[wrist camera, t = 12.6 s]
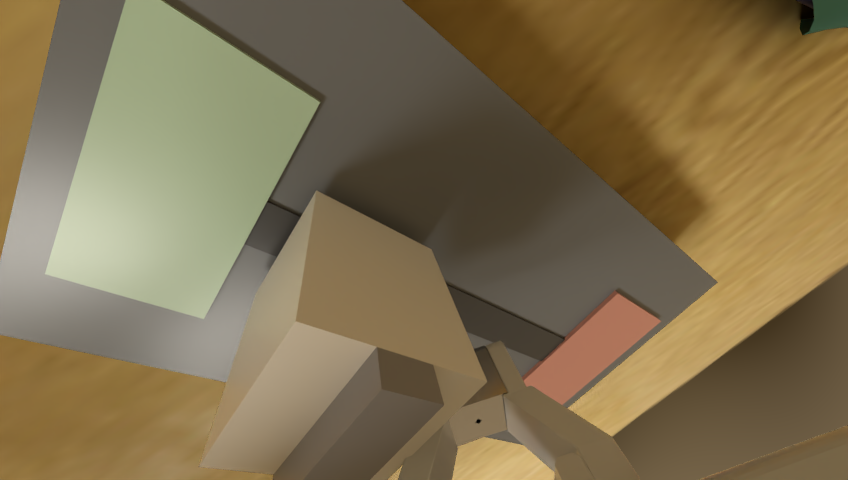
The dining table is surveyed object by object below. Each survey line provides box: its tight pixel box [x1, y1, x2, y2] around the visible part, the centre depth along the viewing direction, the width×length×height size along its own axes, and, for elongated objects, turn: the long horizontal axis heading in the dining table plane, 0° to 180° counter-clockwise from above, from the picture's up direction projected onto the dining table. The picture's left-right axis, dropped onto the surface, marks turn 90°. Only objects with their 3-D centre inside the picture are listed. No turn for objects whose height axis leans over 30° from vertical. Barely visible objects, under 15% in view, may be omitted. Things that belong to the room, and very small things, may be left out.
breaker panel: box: [0, 0, 718, 445], centre depth 14 cm, size 14×24×3 cm, turn 54°
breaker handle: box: [199, 190, 487, 480], centre depth 8 cm, size 4×4×6 cm
